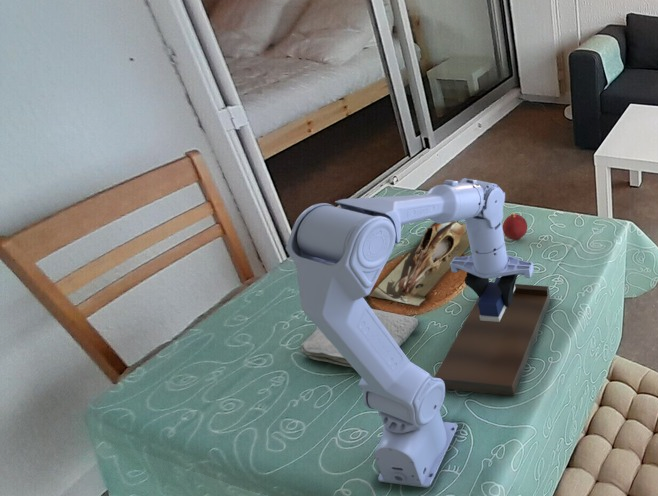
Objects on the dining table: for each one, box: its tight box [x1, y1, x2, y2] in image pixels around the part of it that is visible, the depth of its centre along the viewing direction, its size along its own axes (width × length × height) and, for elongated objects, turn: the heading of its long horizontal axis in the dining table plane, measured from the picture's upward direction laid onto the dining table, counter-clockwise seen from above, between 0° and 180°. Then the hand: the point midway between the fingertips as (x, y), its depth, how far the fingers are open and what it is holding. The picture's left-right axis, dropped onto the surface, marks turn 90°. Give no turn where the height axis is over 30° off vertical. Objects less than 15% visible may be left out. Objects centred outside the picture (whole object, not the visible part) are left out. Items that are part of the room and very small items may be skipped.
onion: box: [502, 212, 528, 241], centre depth 121 cm, size 6×6×8 cm
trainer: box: [478, 277, 515, 322], centre depth 91 cm, size 8×4×4 cm, turn 173°
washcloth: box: [300, 308, 419, 368], centre depth 95 cm, size 12×18×3 cm, turn 78°
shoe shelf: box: [433, 283, 551, 397], centre depth 94 cm, size 22×14×4 cm, turn 173°
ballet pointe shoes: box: [368, 221, 470, 306], centre depth 115 cm, size 14×7×28 cm
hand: (498, 302), depth 92 cm, fingers closed on trainer, 3 cm apart
